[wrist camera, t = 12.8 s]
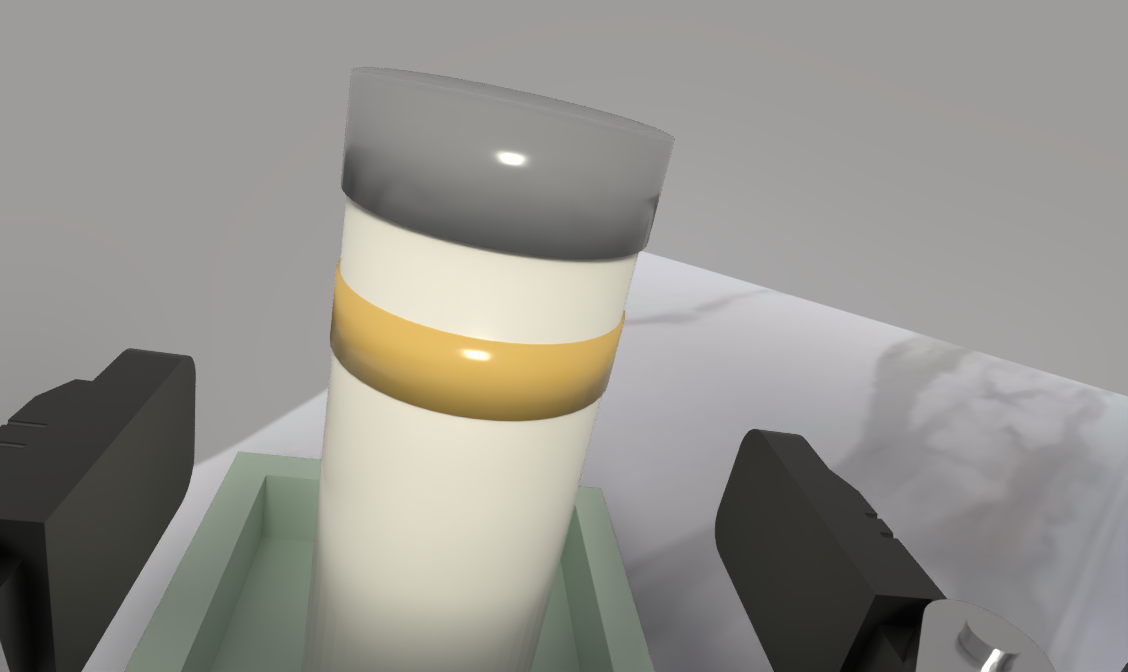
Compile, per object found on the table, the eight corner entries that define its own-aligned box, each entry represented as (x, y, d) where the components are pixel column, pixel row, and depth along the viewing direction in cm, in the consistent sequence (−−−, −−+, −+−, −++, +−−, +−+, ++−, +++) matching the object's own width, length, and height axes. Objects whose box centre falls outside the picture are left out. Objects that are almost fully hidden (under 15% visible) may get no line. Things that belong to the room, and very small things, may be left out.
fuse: (504, 667, 19) (635, 115, 13) (516, 865, 14) (719, 161, 9) (311, 657, 18) (372, 59, 12) (261, 867, 13) (323, 81, 8)
